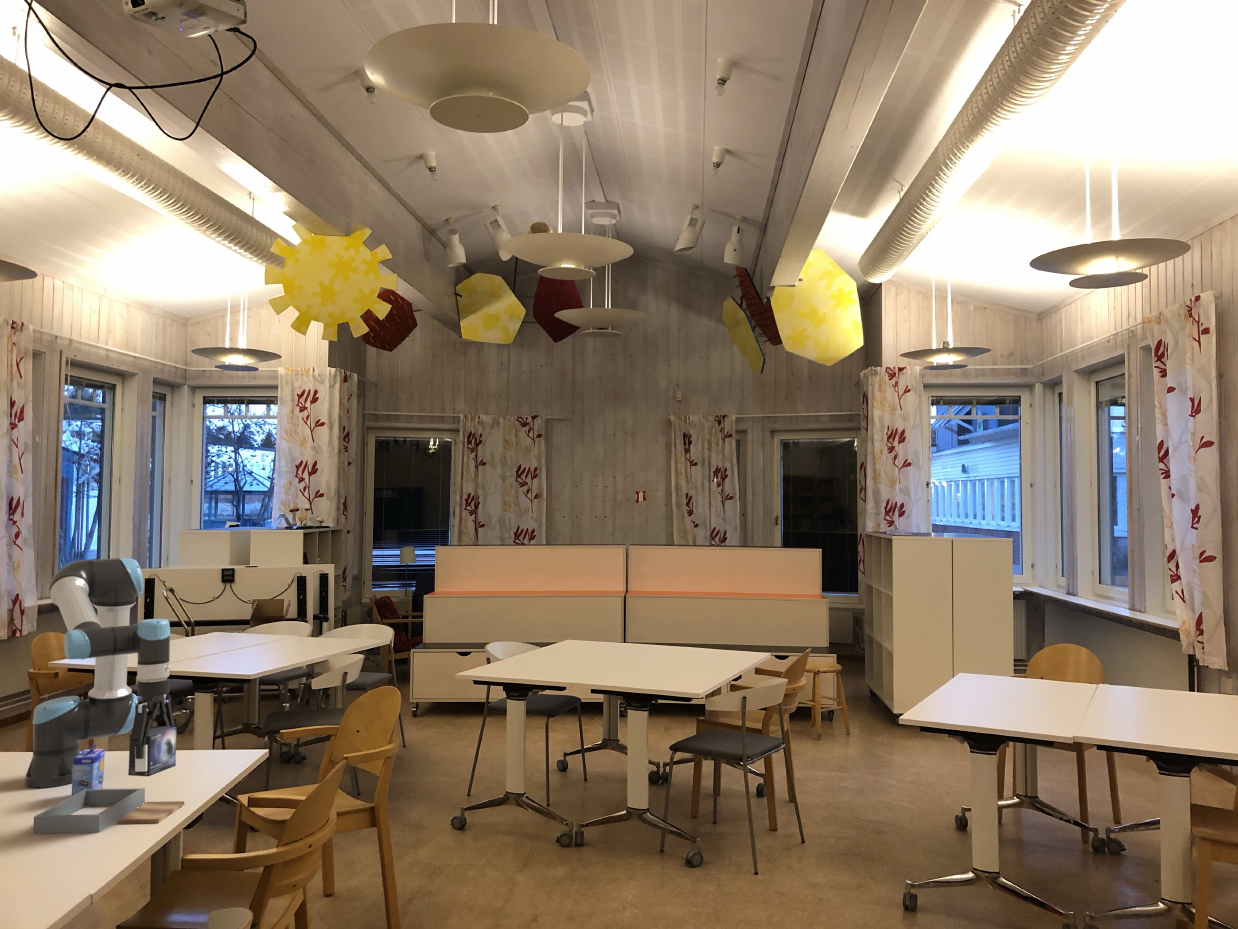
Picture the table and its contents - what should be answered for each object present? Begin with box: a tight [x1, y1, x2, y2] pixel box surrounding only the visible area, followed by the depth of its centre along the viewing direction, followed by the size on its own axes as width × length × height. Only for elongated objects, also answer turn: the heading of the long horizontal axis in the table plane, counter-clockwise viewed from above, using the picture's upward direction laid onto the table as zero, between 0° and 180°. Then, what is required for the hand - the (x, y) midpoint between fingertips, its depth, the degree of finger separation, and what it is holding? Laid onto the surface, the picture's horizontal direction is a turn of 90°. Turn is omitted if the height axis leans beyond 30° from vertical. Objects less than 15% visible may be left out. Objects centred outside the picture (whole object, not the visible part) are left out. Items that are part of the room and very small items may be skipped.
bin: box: [33, 787, 146, 834], centre depth 236 cm, size 22×16×4 cm
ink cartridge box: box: [71, 742, 105, 797], centre depth 253 cm, size 10×6×14 cm, turn 13°
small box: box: [127, 725, 177, 777], centre depth 239 cm, size 11×6×10 cm, turn 169°
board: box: [118, 800, 185, 825], centre depth 238 cm, size 14×10×1 cm
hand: (152, 764), depth 239 cm, fingers closed on small box, 11 cm apart
